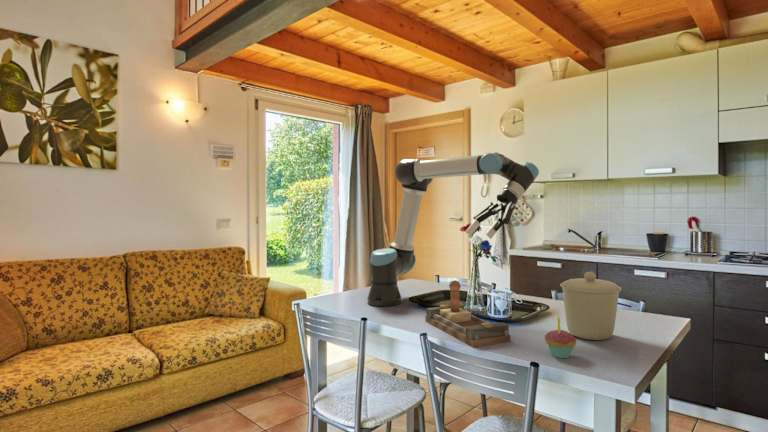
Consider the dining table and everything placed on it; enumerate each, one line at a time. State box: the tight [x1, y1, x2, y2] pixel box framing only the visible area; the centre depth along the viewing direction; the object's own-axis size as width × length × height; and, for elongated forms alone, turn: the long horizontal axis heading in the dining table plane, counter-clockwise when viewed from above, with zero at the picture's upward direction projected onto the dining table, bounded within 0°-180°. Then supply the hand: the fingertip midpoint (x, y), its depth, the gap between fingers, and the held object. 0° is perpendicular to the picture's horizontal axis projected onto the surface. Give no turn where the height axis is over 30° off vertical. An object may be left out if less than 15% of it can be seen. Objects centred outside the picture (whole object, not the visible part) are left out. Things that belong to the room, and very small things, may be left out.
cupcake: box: [544, 315, 577, 359], centre depth 126 cm, size 9×8×12 cm
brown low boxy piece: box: [424, 304, 512, 348], centre depth 151 cm, size 32×14×6 cm, turn 22°
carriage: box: [440, 280, 472, 323], centre depth 157 cm, size 8×8×14 cm
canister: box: [559, 271, 622, 341], centre depth 143 cm, size 18×18×21 cm
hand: (477, 235), depth 166 cm, fingers open, 13 cm apart
